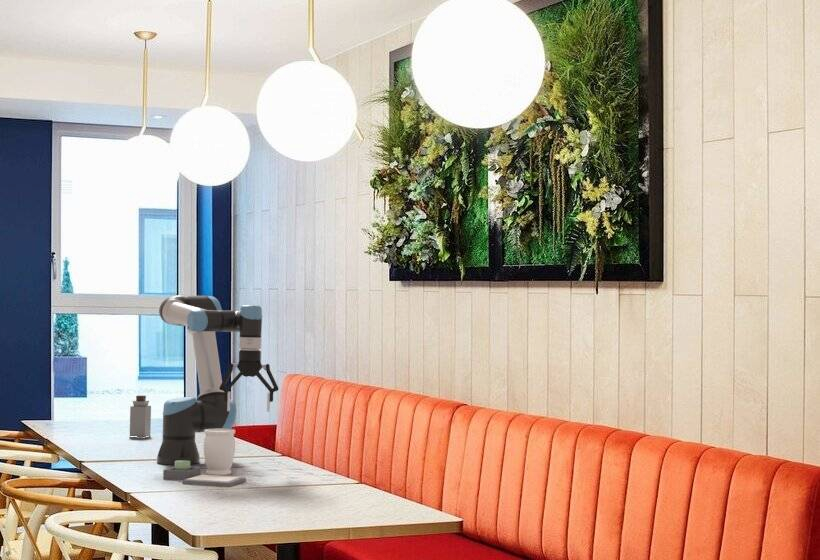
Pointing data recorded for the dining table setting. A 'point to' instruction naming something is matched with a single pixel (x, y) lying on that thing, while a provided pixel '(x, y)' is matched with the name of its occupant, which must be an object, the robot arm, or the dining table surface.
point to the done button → (182, 465)
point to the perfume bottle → (140, 417)
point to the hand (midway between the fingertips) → (248, 411)
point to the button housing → (180, 473)
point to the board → (214, 480)
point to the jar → (219, 450)
